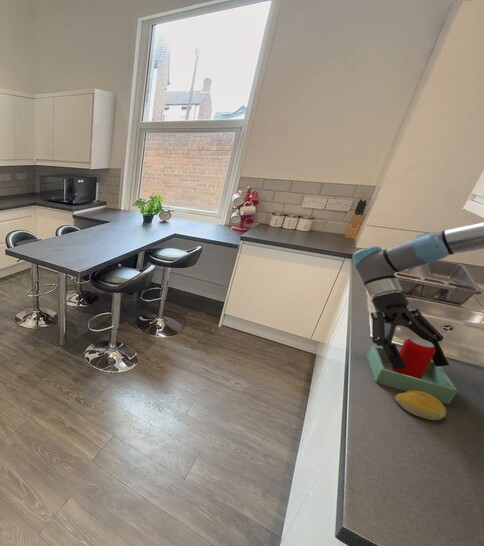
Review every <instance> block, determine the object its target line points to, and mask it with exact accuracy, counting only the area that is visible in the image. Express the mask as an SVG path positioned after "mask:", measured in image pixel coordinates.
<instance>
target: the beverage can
mask: <svg viewBox="0 0 484 546" xmlns="http://www.w3.org/2000/svg"><path fill="white" fill-rule="evenodd" d="M398 351H399V353H400V356H401V358H402V360H403V362H404V364H405V366H406V368H400V369H393V367H392V368H391V369H392V371H394V372H397V373H401V374H404V375H408V376H411V377H415V378H418V379H421V378H422V376H423V374H424V372H425V371H426V369H427V367H428V365H429V363H430V361H431V360H432V358H433V356H434V354H435V352H436V350H435V347H434V345H433V344H432V343H431V342H429V341H427V340H424V339H422V338H421V337H409V338H407V339H405V340H404V342H403V343H402V345H401V348H400V350H398Z"/></svg>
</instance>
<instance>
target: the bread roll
mask: <svg viewBox="0 0 484 546" xmlns="http://www.w3.org/2000/svg"><path fill="white" fill-rule="evenodd" d="M394 399H395V401H396V402H397V404H398V405H399V406H400V407H401V408H402V409H403V410H405V411H406V412H408V413H409V414H411V415H413V416H415V417H418V418H422V419H425V420H430V421H440V420H442V419H443V418H445V417H446V416H447V409H446V406H444V403H442V402H440V401H439V400H438V399H437V398H435V397H433V396H432V395H430V394H428V393H425V392H421V391H414V390H409V391H403V392H401V393H398V394H396V395H395V398H394Z"/></svg>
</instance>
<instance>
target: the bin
mask: <svg viewBox="0 0 484 546" xmlns="http://www.w3.org/2000/svg"><path fill="white" fill-rule="evenodd" d="M366 359H367V362H368V364H369V368H370V370H371V374H372V375H373V379H374V382H375V383H377V384H380V385H384V386H387V387H390V388H392V389H397V390H400V391H403V392H406V391H409V390H414V391H421V392H425V393H428V394H430V395H432V396H433V397H435V398H437V399H438V400H439V401H440V402H441V403H442V404H446V405H450V404H451V403H452V401H453V399H454V397H456V394H457V393H458V389H457V388H456V387H455V385H454V383H453V382H452V381H451V379H450V378H449V376H448V375H447V373H446V371H445V370H444V369H443V366H439V367H436V366H435V364H434V362H433V360H432V359H431V361H430V363H429V365H428V367H427V369H426V371H425V372H424V374H423V376H422V378H421V379H418V378H415V377H411V376H408V375H404V374H401V373H397V372H394V371H392V369H391V368H392V364H391V362H390V360H389V358H388V357H387V355H386V354H385V351H384V349H383V347H382V346H378V345H374V344H371V347H370V349H369V351H368V353H367V356H366Z"/></svg>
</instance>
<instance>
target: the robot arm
mask: <svg viewBox="0 0 484 546" xmlns="http://www.w3.org/2000/svg"><path fill="white" fill-rule="evenodd" d="M479 250H484V221H480V222H476V223H471V224H467V225H461V226H458V227H453V228H448V229H445V230H440V231H436V232H431V233H423V234H419V235H416V236H414V237H413V238H412V239H410V240H408V241H406V242H402V243H400V244H398V245H394V246H392V247H390V248H386V249H382V248H381V247H380V246H370V247H367V248H362V249H359V250H357V251H355V252H354V253H353V254H352V260H353V263H354V266H355V269H356V271H357V273H358V274H359V276H360V279H361V280H362V283H363V285H364V287H365V289H366V291H367V294H368V295H369V298H371V303H372V305H373V307H374V309H375V311H372V312H370V317H371V320H372V326H371V327H372V329H371V331H372V332H371V333H372V336H371V337H372V340H371V341H372V343H373V344H375V345H376V346H378V347H382V348H383V349H384V351H385V354H386V355H387V357H388V358H389V360H390V362H391V364H392V367H393V369H400V368H406V366H405V364H404V362H403V360H402V358H401V356H400V353H399V351H400V350H399V349H398V347H397V344H396V343H392V342H393V339H394V336H395V331H396V328H397V327H404V328H407V329H409V330H410V331H411V332H412V333H414V334H415V335H417V336H418V338H421V339H424V340H427V341H429V342H431V343H432V344H433V345H434V347H435V350H436V352H435V354H434V356H433V358H432V359H431V360H433V362H434V364H435V366H436V367H439V366H441V367H446V366H450V363H449V361H448V359H447V358H446V356H445V354H444V351H443V349H442V347H441V345H440V343H439V342H442V341H443V340H444V336H443V335H442V334H441V332H439V331H438V330H437V329H436V328H435V327H434V326H433V325H432V324H431V323H430V322H429V321H428V320H427V318H425V317H424V315H423V314H422V312H421V311H420V310H419V309H418V308H415V309H411V310H409V309H408V306H409V305H410V302H409V300H408V298H407V296H406V294H405V293H404V292H403V290H404V289H403V288H402V286H401V283H400V282H399V279H398V278H397V277H396V273H400V272H402V271H405V270H409V269H413V268H417V267H420V266H423V265H427V264H432V263H433V264H434V263H435V262H437V261H440V260H443V259H445V258H447V257H448V256H452V255H456V254H461V253H462V254H463V253H467V252H473V251H479Z"/></svg>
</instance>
